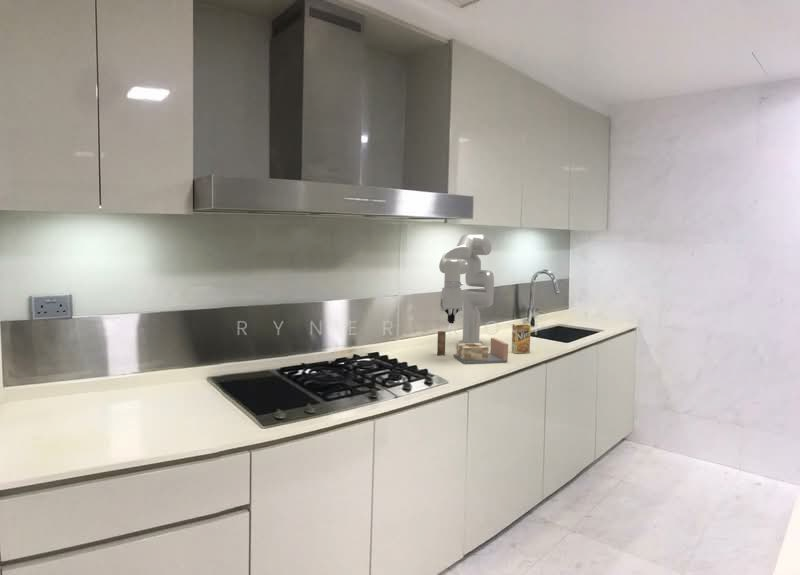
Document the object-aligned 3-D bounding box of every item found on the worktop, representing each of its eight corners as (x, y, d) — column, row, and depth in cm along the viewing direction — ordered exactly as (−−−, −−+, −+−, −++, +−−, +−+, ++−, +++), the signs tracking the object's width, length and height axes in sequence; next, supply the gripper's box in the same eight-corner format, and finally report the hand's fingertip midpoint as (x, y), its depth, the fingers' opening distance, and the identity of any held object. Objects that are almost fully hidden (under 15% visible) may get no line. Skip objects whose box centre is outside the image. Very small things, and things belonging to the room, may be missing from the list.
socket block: (456, 355, 254) (456, 343, 253) (478, 354, 256) (479, 342, 256) (464, 360, 242) (465, 348, 241) (488, 359, 245) (488, 347, 244)
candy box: (515, 353, 265) (516, 325, 264) (511, 352, 269) (512, 323, 268) (529, 353, 268) (531, 324, 266) (525, 351, 272) (526, 323, 270)
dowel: (436, 354, 261) (436, 331, 260) (443, 353, 262) (444, 331, 260) (438, 355, 257) (439, 332, 256) (446, 355, 258) (446, 332, 257)
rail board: (453, 356, 255) (454, 338, 255) (493, 355, 261) (494, 337, 260) (464, 364, 240) (465, 345, 239) (507, 362, 245) (508, 343, 244)
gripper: (464, 284, 248) (462, 321, 249) (434, 284, 244) (433, 322, 246) (469, 285, 240) (468, 324, 242) (439, 285, 237) (438, 324, 238)
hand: (451, 322), depth 244 cm, fingers closed
